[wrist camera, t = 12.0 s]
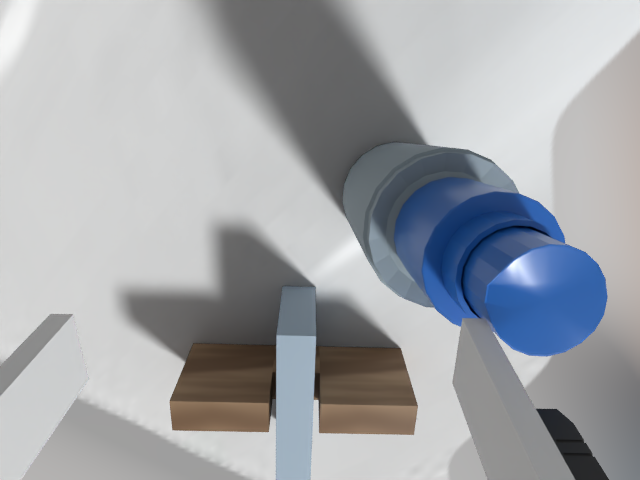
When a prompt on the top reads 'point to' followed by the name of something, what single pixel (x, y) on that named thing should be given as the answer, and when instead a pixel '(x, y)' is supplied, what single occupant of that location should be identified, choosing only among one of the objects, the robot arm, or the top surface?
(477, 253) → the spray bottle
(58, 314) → the robot arm
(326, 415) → the slotted stand
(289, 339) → the slotted plate
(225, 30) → the top surface
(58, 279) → the top surface
